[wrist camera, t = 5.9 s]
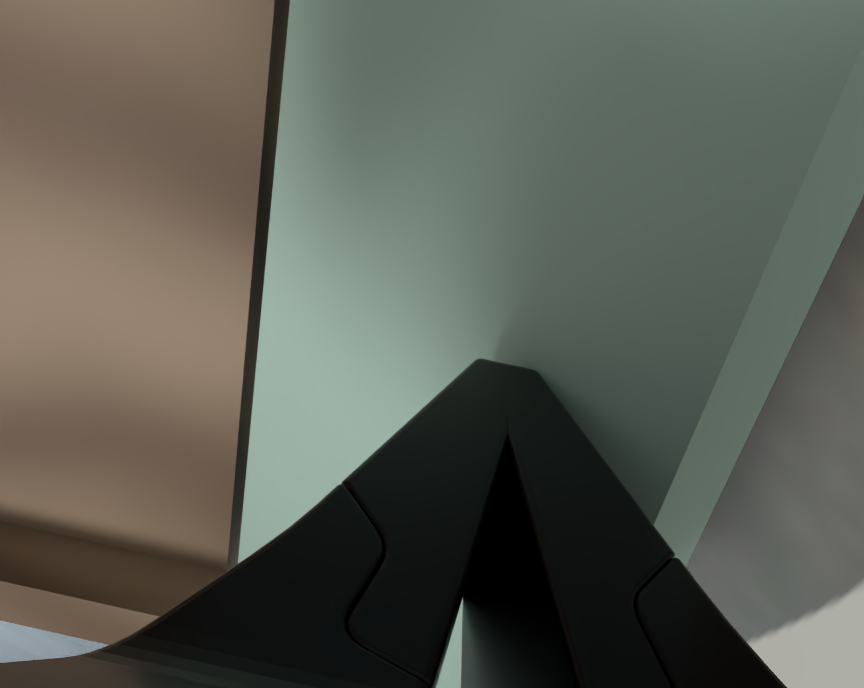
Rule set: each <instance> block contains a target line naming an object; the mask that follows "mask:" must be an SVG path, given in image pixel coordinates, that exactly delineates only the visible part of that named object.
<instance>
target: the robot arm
mask: <svg viewBox="0 0 864 688" xmlns="http://www.w3.org/2000/svg"><path fill="white" fill-rule="evenodd" d="M462 598H463V611H462V658H461V688H787V687H786V686H785V685H784V684H783V683H782V682H781V681H780V680H779V679H778V678H777V676H776V675H775V674H774V673H773V672H772V671H771V670H770V669H769V667H768V666H767V665H766V664H765V663H764V662H763V661H762V659H761V658H760V657H759V656H758V655H757V654H756V653H755V651H753V649H752V648H751V647H750V646H749V645H748V644H747V642H746V641H745V640H744V639H743V638H742V637H741V636H740V634H739V633H738V632H737V631H736V630H735V629H734V628H733V626H732V625H731V624H730V623H729V622H728V620H727V619H726V618H725V617H724V615H723V614H722V613H721V612H720V610H719V609H718V608H717V607H716V605H715V604H714V603H713V602H712V600H711V599H710V598H709V597H708V595H707V594H706V593H705V592H704V590H703V589H702V588H701V587H700V585H699V584H698V583H697V582H696V580H695V579H694V578H693V576H692V575H691V574H690V572H689V571H688V570H687V568H686V567H685V566H684V564H683V563H682V562H681V560H680V559H678V558H675V553H674V552H673V550H672V549H671V548H670V546H669V545H668V544H667V542H666V541H665V540H664V538H663V537H662V536H661V534H660V533H659V532H658V530H657V529H656V528H655V526H654V525H653V524H652V522H651V521H650V520H649V518H648V517H647V516H646V514H645V513H644V512H643V510H642V509H641V508H640V506H639V505H638V504H637V503H636V501H635V500H634V499H633V497H632V496H631V495H630V493H629V492H628V491H627V489H626V488H625V487H624V485H623V484H622V483H621V481H620V480H619V479H618V477H617V476H616V475H615V473H614V472H613V471H612V469H611V468H610V467H609V465H608V464H607V463H606V461H605V460H604V459H603V457H602V456H601V455H600V454H599V452H598V451H597V450H596V448H595V447H594V446H593V444H592V443H591V442H590V440H589V439H588V438H587V436H586V435H585V434H584V432H583V431H582V430H581V428H580V427H579V426H578V424H577V423H576V422H575V420H574V419H573V418H572V416H571V415H570V414H569V412H568V411H567V410H566V408H565V407H564V406H563V405H562V403H561V402H560V401H559V399H558V398H557V397H556V395H555V394H554V393H553V391H552V390H551V389H550V387H549V386H548V385H547V383H546V382H545V381H544V379H543V378H542V377H541V375H540V374H539V373H538V372H537V371H535V370H533V369H528V368H524V367H519V366H514V365H510V364H505V363H501V362H496V361H491V360H487V359H482V358H479V359H476V360H475V361H473V362H472V363H471V364H470V365H469V366H468V367H467V368H466V369H465V370H464V371H463V372H461V373H460V374H459V375H458V376H457V377H456V378H455V379H454V380H453V381H452V382H450V383H449V384H448V385H447V386H446V387H445V388H444V389H443V390H442V391H441V392H440V393H438V394H437V395H436V396H435V397H434V398H433V399H432V400H431V401H430V402H429V403H427V404H426V405H425V406H424V407H423V408H422V409H421V410H420V411H419V412H418V413H417V414H415V415H414V416H413V417H412V418H411V419H410V420H409V421H408V422H407V423H406V424H405V425H403V426H402V427H401V428H400V429H399V430H398V431H397V432H396V433H395V434H394V435H392V436H391V437H390V438H389V439H388V440H387V441H386V442H385V443H384V444H383V445H382V446H380V447H379V448H378V449H377V450H376V451H375V452H374V453H373V454H372V455H371V456H369V457H368V458H367V459H366V460H365V461H364V462H363V463H362V464H361V465H360V466H359V467H357V468H356V469H355V470H354V471H353V472H352V473H351V474H350V475H349V476H348V477H347V478H345V479H344V480H343V481H342V483H341V484H339V485H337V486H336V487H335V488H334V489H333V490H332V491H331V492H330V493H329V494H327V495H326V496H325V497H324V498H323V499H322V500H321V501H320V502H319V503H318V504H316V505H315V506H314V507H313V508H312V509H310V510H309V511H308V512H307V513H306V514H305V515H303V516H302V517H301V518H300V519H299V520H297V521H296V522H295V523H294V524H293V525H291V526H290V527H289V528H288V529H286V530H285V531H283V532H282V533H281V534H279V535H278V536H277V537H275V538H274V539H272V540H271V541H270V542H268V543H267V544H265V545H264V546H263V547H261V548H260V549H258V550H257V551H256V552H254V553H253V554H251V555H250V556H249V557H247V558H246V559H244V560H243V561H241V562H240V563H238V564H237V565H235V566H234V567H232V568H231V569H229V570H228V571H226V572H225V573H223V574H222V575H220V576H219V577H217V578H216V579H214V580H213V581H211V582H210V583H208V584H207V585H205V586H204V587H202V588H201V589H199V590H198V591H197V592H195V593H194V594H192V595H191V596H189V597H188V598H186V599H185V600H183V601H182V602H180V603H179V604H177V605H176V606H174V607H173V608H171V609H170V610H168V611H167V612H165V613H164V614H162V615H161V616H159V617H158V618H156V619H155V620H153V621H152V622H150V623H149V624H147V625H146V626H144V627H142V628H141V629H139V630H138V631H136V632H134V633H133V634H131V635H129V636H127V637H125V638H123V639H121V640H119V641H117V642H115V643H113V644H111V645H108V646H106V647H103V648H101V649H98V650H96V651H93V652H90V653H86V654H82V655H78V656H72V657H65V658H55V659H43V660H31V661H20V662H8V663H0V688H436V686H437V683H438V679H439V676H440V673H441V669H442V666H443V663H444V659H445V656H446V652H447V649H448V646H449V642H450V639H451V635H452V632H453V629H454V625H455V622H456V619H457V615H458V612H459V608H460V605H461V602H462Z"/></svg>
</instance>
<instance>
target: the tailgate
mask: <svg viewBox="0 0 864 688" xmlns="http://www.w3.org/2000/svg"><path fill="white" fill-rule="evenodd" d="M863 196H864V0H290V6H289V17H288V28H287V39H286V49H285V60H284V71H283V82H282V92H281V103H280V114H279V125H278V135H277V146H276V157H275V168H274V179H273V189H272V200H271V211H270V222H269V232H268V243H267V254H266V265H265V276H264V286H263V297H262V308H261V319H260V329H259V340H258V351H257V362H256V372H255V383H254V394H253V405H252V416H251V426H250V437H249V448H248V459H247V469H246V480H245V491H244V502H243V513H242V523H241V534H240V545H239V556H238V563H240V562H241V561H243V560H244V559H246V558H247V557H249V556H250V555H251V554H253V553H254V552H256V551H257V550H258V549H260V548H261V547H263V546H264V545H265V544H267V543H268V542H270V541H271V540H272V539H274V538H275V537H277V536H278V535H279V534H281V533H282V532H283V531H285V530H286V529H288V528H289V527H290V526H291V525H293V524H294V523H295V522H296V521H297V520H299V519H300V518H301V517H302V516H303V515H305V514H306V513H307V512H308V511H309V510H310V509H312V508H313V507H314V506H315V505H316V504H318V503H319V502H320V501H321V500H322V499H323V498H324V497H325V496H326V495H327V494H329V493H330V492H331V491H332V490H333V489H334V488H335V487H336V486H337V485H339V484H341V483H342V481H343V480H344V479H345V478H347V477H348V476H349V475H350V474H351V473H352V472H353V471H354V470H355V469H356V468H357V467H359V466H360V465H361V464H362V463H363V462H364V461H365V460H366V459H367V458H368V457H369V456H371V455H372V454H373V453H374V452H375V451H376V450H377V449H378V448H379V447H380V446H382V445H383V444H384V443H385V442H386V441H387V440H388V439H389V438H390V437H391V436H392V435H394V434H395V433H396V432H397V431H398V430H399V429H400V428H401V427H402V426H403V425H405V424H406V423H407V422H408V421H409V420H410V419H411V418H412V417H413V416H414V415H415V414H417V413H418V412H419V411H420V410H421V409H422V408H423V407H424V406H425V405H426V404H427V403H429V402H430V401H431V400H432V399H433V398H434V397H435V396H436V395H437V394H438V393H440V392H441V391H442V390H443V389H444V388H445V387H446V386H447V385H448V384H449V383H450V382H452V381H453V380H454V379H455V378H456V377H457V376H458V375H459V374H460V373H461V372H463V371H464V370H465V369H466V368H467V367H468V366H469V365H470V364H471V363H472V362H473V361H475V360H476V359H479V358H482V359H487V360H491V361H496V362H501V363H505V364H510V365H514V366H519V367H524V368H528V369H533V370H535V371H537V372H538V373H539V374H540V375H541V377H542V378H543V379H544V381H545V382H546V383H547V385H548V386H549V387H550V389H551V390H552V391H553V393H554V394H555V395H556V397H557V398H558V399H559V401H560V402H561V403H562V405H563V406H564V407H565V408H566V410H567V411H568V412H569V414H570V415H571V416H572V418H573V419H574V420H575V422H576V423H577V424H578V426H579V427H580V428H581V430H582V431H583V432H584V434H585V435H586V436H587V438H588V439H589V440H590V442H591V443H592V444H593V446H594V447H595V448H596V450H597V451H598V452H599V454H600V455H601V456H602V457H603V459H604V460H605V461H606V463H607V464H608V465H609V467H610V468H611V469H612V471H613V472H614V473H615V475H616V476H617V477H618V479H619V480H620V481H621V483H622V484H623V485H624V487H625V488H626V489H627V491H628V492H629V493H630V495H631V496H632V497H633V499H634V500H635V501H636V503H637V504H638V505H639V506H640V508H641V509H642V510H643V512H644V513H645V514H646V516H647V517H648V518H649V520H650V521H651V522H652V524H653V525H654V526H655V528H656V529H657V530H658V532H659V533H660V534H661V536H662V537H663V538H664V540H665V541H666V542H667V544H668V545H669V546H670V548H671V549H672V550H673V552H674V553H675V558H678V559H680V560H681V562H682V563H683V564H684V566H685V567H686V566H687V564H688V562H689V560H690V557H691V555H692V553H693V551H694V549H695V547H696V545H697V543H698V541H699V539H700V537H701V534H702V532H703V530H704V528H705V526H706V524H707V522H708V520H709V518H710V516H711V514H712V512H713V509H714V507H715V505H716V503H717V501H718V499H719V497H720V495H721V493H722V491H723V489H724V486H725V484H726V482H727V480H728V478H729V476H730V474H731V472H732V470H733V468H734V466H735V463H736V461H737V459H738V457H739V455H740V453H741V451H742V449H743V447H744V445H745V443H746V441H747V438H748V436H749V434H750V432H751V430H752V428H753V426H754V424H755V422H756V420H757V418H758V415H759V413H760V411H761V409H762V407H763V405H764V403H765V401H766V399H767V397H768V395H769V393H770V390H771V388H772V386H773V384H774V382H775V380H776V378H777V376H778V374H779V372H780V370H781V367H782V365H783V363H784V361H785V359H786V357H787V355H788V353H789V351H790V349H791V347H792V344H793V342H794V340H795V338H796V336H797V334H798V332H799V330H800V328H801V326H802V324H803V322H804V319H805V317H806V315H807V313H808V311H809V309H810V307H811V305H812V303H813V301H814V299H815V296H816V294H817V292H818V290H819V288H820V286H821V284H822V282H823V280H824V278H825V276H826V273H827V271H828V269H829V267H830V265H831V263H832V261H833V259H834V257H835V255H836V253H837V251H838V248H839V246H840V244H841V242H842V240H843V238H844V236H845V234H846V232H847V230H848V228H849V225H850V223H851V221H852V219H853V217H854V215H855V213H856V211H857V209H858V207H859V205H860V202H861V200H862V198H863ZM462 611H463V598H462V602H461V605H460V608H459V612H458V615H457V619H456V622H455V625H454V629H453V632H452V635H451V639H450V642H449V646H448V649H447V652H446V656H445V659H444V663H443V666H442V669H441V673H440V676H439V679H438V683H437V686H436V688H461V658H462Z"/></svg>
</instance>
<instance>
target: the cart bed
mask: <svg viewBox="0 0 864 688" xmlns="http://www.w3.org/2000/svg"><path fill="white" fill-rule="evenodd" d="M289 6H290V0H0V620H1V621H6V622H10V623H15V624H19V625H24V626H28V627H33V628H37V629H42V630H46V631H50V632H55V633H59V634H64V635H68V636H73V637H77V638H82V639H86V640H90V641H95V642H99V643H104V644H108V645H111V644H113V643H115V642H117V641H119V640H121V639H123V638H125V637H127V636H129V635H131V634H133V633H134V632H136V631H138V630H139V629H141V628H142V627H144V626H146V625H147V624H149V623H150V622H152V621H153V620H155V619H156V618H158V617H159V616H161V615H162V614H164V613H165V612H167V611H168V610H170V609H171V608H173V607H174V606H176V605H177V604H179V603H180V602H182V601H183V600H185V599H186V598H188V597H189V596H191V595H192V594H194V593H195V592H197V591H198V590H199V589H201V588H202V587H204V586H205V585H207V584H208V583H210V582H211V581H213V580H214V579H216V578H217V577H219V576H220V575H222V574H223V573H225V572H226V571H228V570H229V569H231V568H232V567H234V566H235V565H237V564H238V556H239V545H240V534H241V523H242V513H243V502H244V491H245V480H246V469H247V459H248V448H249V437H250V426H251V416H252V405H253V394H254V383H255V372H256V362H257V351H258V340H259V329H260V319H261V308H262V297H263V286H264V276H265V265H266V254H267V243H268V232H269V222H270V211H271V200H272V189H273V179H274V168H275V157H276V146H277V135H278V125H279V114H280V103H281V92H282V82H283V71H284V60H285V49H286V39H287V28H288V17H289Z"/></svg>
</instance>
